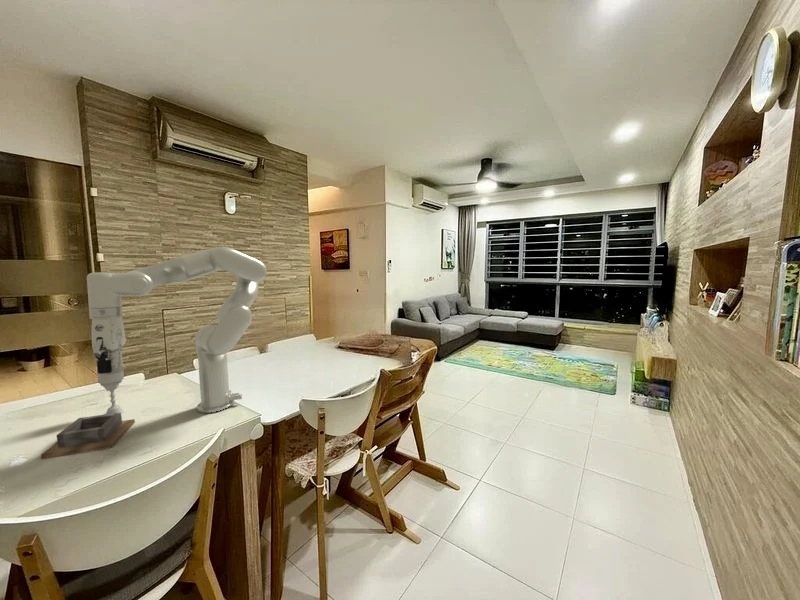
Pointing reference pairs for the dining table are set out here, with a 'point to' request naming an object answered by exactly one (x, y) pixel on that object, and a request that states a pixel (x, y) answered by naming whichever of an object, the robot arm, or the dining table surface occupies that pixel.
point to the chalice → (113, 400)
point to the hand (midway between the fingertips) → (110, 369)
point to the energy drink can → (113, 368)
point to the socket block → (89, 435)
